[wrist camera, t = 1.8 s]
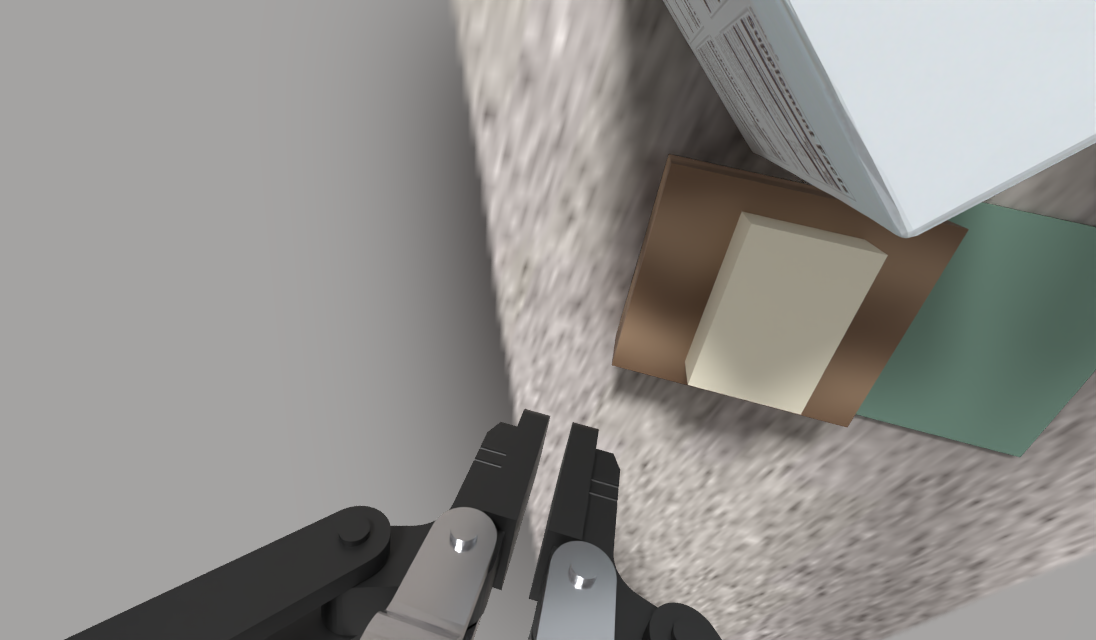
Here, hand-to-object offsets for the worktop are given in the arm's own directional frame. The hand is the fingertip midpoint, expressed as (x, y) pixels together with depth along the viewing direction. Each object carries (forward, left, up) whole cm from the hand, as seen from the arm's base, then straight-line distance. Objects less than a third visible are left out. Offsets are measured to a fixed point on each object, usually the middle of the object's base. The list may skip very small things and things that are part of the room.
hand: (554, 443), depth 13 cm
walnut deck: (0, +9, -19) cm, 21 cm away
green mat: (0, +22, -19) cm, 29 cm away
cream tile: (0, +9, -15) cm, 17 cm away
